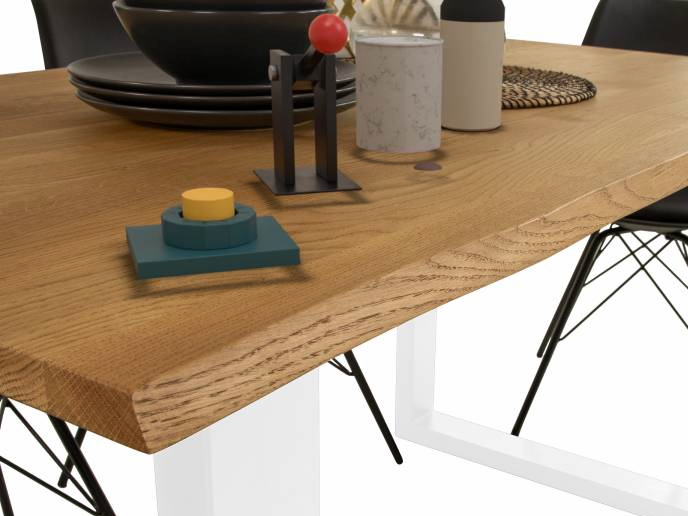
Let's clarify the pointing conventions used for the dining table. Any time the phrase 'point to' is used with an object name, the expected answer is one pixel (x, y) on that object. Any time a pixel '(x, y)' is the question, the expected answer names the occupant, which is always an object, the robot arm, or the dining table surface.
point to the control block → (209, 244)
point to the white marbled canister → (398, 93)
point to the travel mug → (472, 63)
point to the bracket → (284, 172)
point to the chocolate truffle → (427, 166)
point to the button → (208, 204)
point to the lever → (318, 49)
